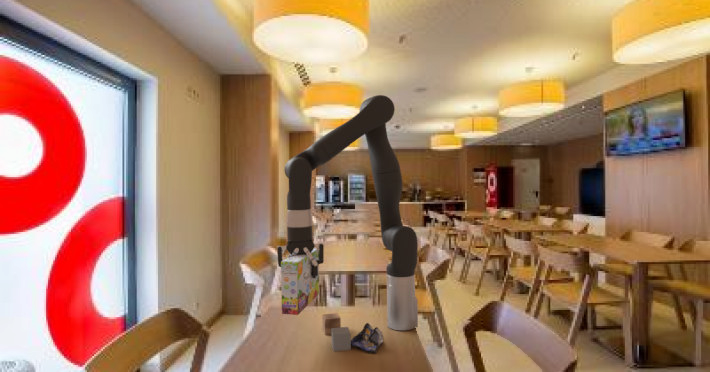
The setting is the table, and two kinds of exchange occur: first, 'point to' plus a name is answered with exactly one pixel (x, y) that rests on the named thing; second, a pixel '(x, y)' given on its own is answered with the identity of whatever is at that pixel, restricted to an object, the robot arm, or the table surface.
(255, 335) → the table surface
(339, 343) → the slate block
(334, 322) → the walnut block
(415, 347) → the table surface
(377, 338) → the snack package
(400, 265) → the robot arm
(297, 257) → the snack box
